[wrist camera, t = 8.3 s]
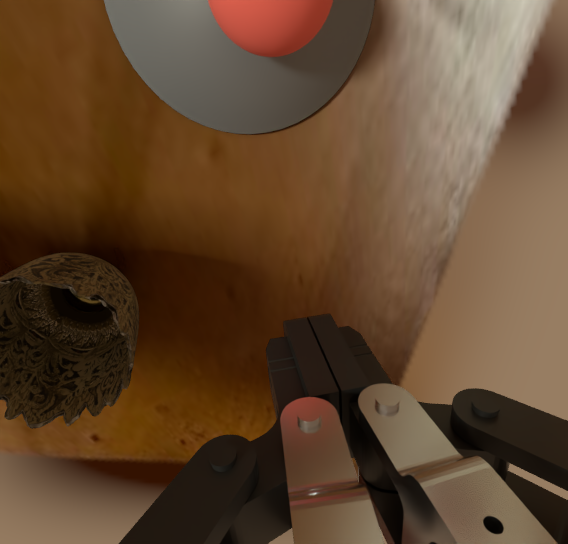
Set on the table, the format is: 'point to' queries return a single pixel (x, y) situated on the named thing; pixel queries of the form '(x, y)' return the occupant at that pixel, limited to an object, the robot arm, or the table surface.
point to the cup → (65, 337)
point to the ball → (270, 23)
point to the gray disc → (236, 63)
